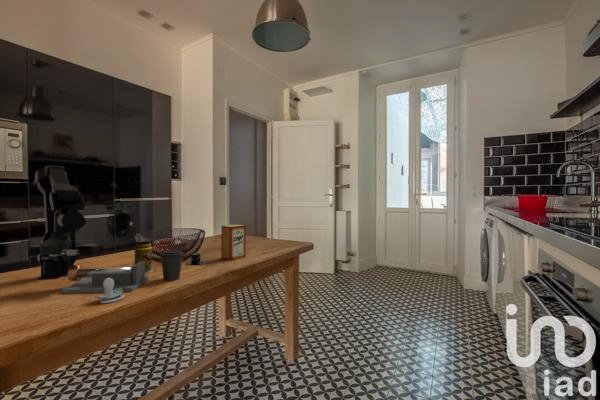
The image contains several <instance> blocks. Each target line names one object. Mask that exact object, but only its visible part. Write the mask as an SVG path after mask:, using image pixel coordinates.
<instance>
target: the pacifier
mask: <svg viewBox="0 0 600 400" xmlns="http://www.w3.org/2000/svg"><path fill="white" fill-rule="evenodd" d="M103 287H104V288H105V292H104V295H93V297H95V298H96V299H101V300H100V302H99V303H101V304H112V303H116V302H119V301H121V300H122V299H124V298H125V295H124V294H122V293H124V292H123V289H122V288H117V289H115V290H113V287H114V280H113V279H112V278H107V279H105V280H104V282H103Z"/></svg>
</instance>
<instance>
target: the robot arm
mask: <svg viewBox="0 0 600 400" xmlns="http://www.w3.org/2000/svg"><path fill="white" fill-rule="evenodd" d="M65 169H66V168H65V166H61V165H60V166H59V165H46V166H45V167H43V168H40V169H37V170H36V172H35V174H34V183H35V184H36V183H37V189H38V190H39V191H40V192H41V193H42V195H43V203H44V220H45V223H44V224H45V234H44V235H43V237H42V239H41V240H40V244H35V245H31V246H29V247H28V249H26V255H27V257H36V258H37V259H36V260H37V261H38V262H39V263H40V276H37V279H58V278H61V277H68V271H69V269H70V267H71V266H73V265H74V264H75V263H76V261H77V260H78V258H79V257H80V256H93V255H95V254H99V253H102V246H101V245H100V243H87V244H82V245H80V242H78V234H80V229H81V228H83V227H84V226H85V224H86V218H85V216H84V214H82V213H81V212H79V211H85V207H86V203H85V200H84V197H83V195H82V193H81V192H80V191H79V189H78V188H77V187H76V186H74V185H72V184H70V182H69V179H68V178H67V171H66V170H65Z"/></svg>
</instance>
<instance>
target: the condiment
mask: <svg viewBox="0 0 600 400" xmlns="http://www.w3.org/2000/svg"><path fill="white" fill-rule="evenodd" d="M141 261H145V274H146V273H152V272H154V269H153V247H152V241H151V240H150V239H143V240H142V239H141V240H137V241H135V249H134V265H135V264H137V263H139V262H141Z"/></svg>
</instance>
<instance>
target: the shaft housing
mask: <svg viewBox="0 0 600 400" xmlns="http://www.w3.org/2000/svg"><path fill="white" fill-rule="evenodd" d="M107 278H112V279H113V280H114V287H113V290H115V289H117V288H122V289H123V292H122V293H125V292H126V293H129V292H133V291H135V290H137V289H138V288H139V287H141V286H142V285H143V284H144V283H146V282H147V281H148V280H149V276H148V275H146V273H145V261H141V262H139V263H137V264H135V263H134V265H132V272H101V273H93V274H92V278H82V279H81V280H80V281H76V282H75V283H73V284H71V285H68V286H67V287H65V288H62V289H61V295H62V294H90V293H91V294H92V293H105V288H104V287H103V282H104V280H105V279H107Z"/></svg>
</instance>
